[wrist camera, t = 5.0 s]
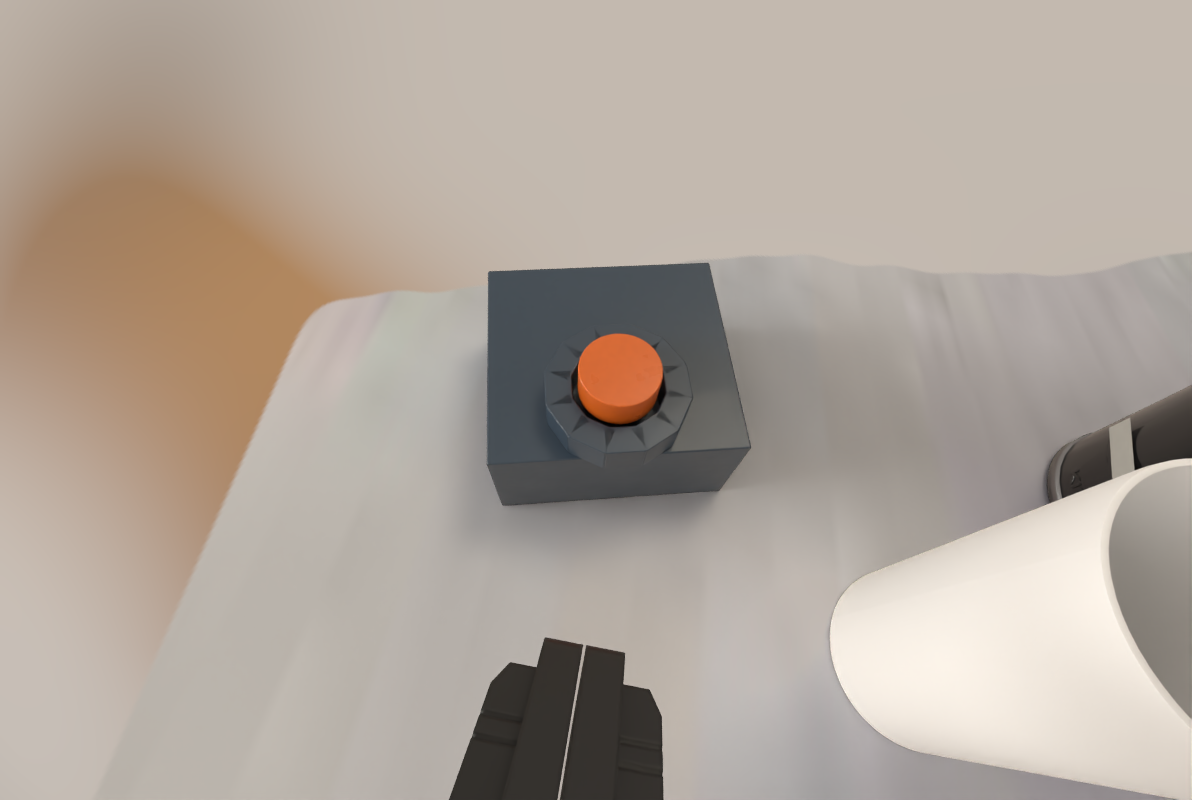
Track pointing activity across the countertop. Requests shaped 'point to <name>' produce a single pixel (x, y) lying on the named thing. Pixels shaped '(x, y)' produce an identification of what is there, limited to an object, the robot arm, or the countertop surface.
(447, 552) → the countertop surface
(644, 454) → the grey button base
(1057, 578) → the cup
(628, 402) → the button
